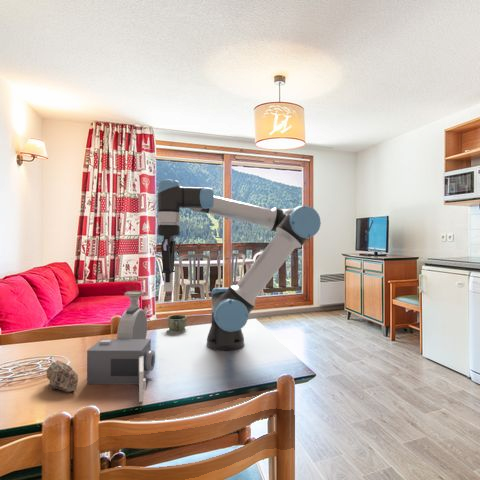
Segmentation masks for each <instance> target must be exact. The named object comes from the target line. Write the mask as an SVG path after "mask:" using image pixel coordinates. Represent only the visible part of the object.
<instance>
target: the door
mask: <svg viewBox="0 0 480 480" xmlns="http://www.w3.org/2000/svg"><path fill="white" fill-rule="evenodd" d="M146 381H147V380H146V378H144V356H140V357H139V384H138V385H139V386H138V387H139V388H138V389H139V390H138V391H139V392H138V399H139V400H138V401H139V403H142V402H143V403H144V391H146V389H147V387H146V385H147V382H146Z"/></svg>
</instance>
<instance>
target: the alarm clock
mask: <svg viewBox="0 0 480 480" xmlns="http://www.w3.org/2000/svg"><path fill="white" fill-rule="evenodd" d="M147 332H148V318H147V314H146V311H145V310H144V309H143V308H140V306H138V307H134V306H132V307H131V306H128V307H127V309H126V310H124V312H123V313H122V315H121V317H120V318H119V323H118V326H117V333H116V339H147V335H148V333H147Z"/></svg>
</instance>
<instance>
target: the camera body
mask: <svg viewBox="0 0 480 480" xmlns="http://www.w3.org/2000/svg"><path fill="white" fill-rule="evenodd" d="M151 340H152V339H151V338H149V339H148V338H146V339H117V338H101V339H100V340H99V341H97V342H95V344H93V345H92V346H91V347H90V348H88V349H87V350H86V384H87V385H139V357H140V356H144V378H146V377H147V376H148V374H149V372H152V371H153V370H154V368H155V364H156V351H155V350H154V349H153V350H152V349H151V348H152V345H151V343H152V341H151Z"/></svg>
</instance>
